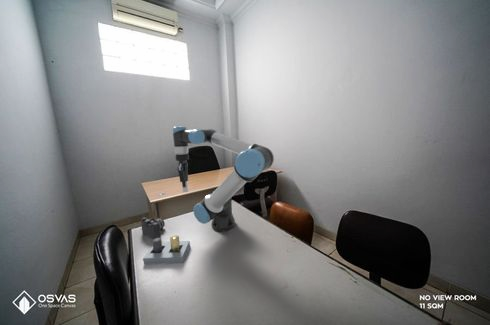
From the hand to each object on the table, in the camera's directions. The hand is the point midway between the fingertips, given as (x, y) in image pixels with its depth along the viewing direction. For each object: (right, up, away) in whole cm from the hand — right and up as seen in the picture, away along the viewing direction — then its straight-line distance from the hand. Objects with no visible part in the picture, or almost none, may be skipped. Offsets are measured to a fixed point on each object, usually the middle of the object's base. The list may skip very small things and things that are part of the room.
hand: (185, 191), depth 106 cm
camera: (-18, -25, +1) cm, 31 cm away
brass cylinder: (+2, -27, -19) cm, 33 cm away
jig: (-2, -28, -19) cm, 34 cm away
